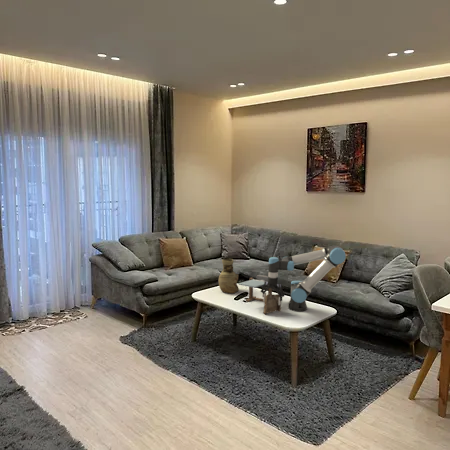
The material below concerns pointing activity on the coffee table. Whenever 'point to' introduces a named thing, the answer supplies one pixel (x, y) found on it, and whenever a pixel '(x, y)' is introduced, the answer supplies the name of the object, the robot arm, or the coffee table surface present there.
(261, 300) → the trapdoor frame
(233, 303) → the coffee table surface
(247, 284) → the trapdoor
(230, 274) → the ceramic vessel
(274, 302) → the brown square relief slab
